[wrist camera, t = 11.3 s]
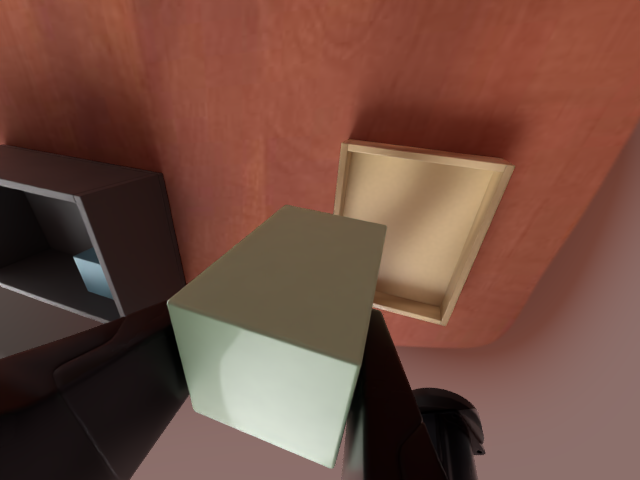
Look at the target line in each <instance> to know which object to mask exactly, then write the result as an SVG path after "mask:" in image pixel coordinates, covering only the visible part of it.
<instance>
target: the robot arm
mask: <svg viewBox="0 0 640 480" xmlns="http://www.w3.org/2000/svg"><path fill="white" fill-rule="evenodd" d="M168 300H169V299H167V300H165V301H162V302H160V303H157V304H154V305H152V306H149V307H147V308H144V309H142V310H139V311H136V312H134V313H131V314H129V315H127V316H126V317H125V316H123V317H121V318H118V319H116V320H113V321H110V322H108V323H105V324H103V325H100V326H97V327H94V328H92V329H89V330H86V331H83V332H80V333H78V334H75V335H72V336H69V337H66V338H63V339H60V340H57V341H54V342H51V343H48V344H45V345H42V346H39V347H36V348H32V349H30V350H26V351H23V352H20V353H17V354H14V355H11V356H8V357H5V358H2V359H0V480H130V479H131V477H132V476H133V474H134V473H135V471H136V470H137V469H138V467H139V466H140V464H141V463H142V461H143V460H144V459H145V457H146V456H147V454H148V453H149V451H150V450H151V448H152V447H153V446H154V444H155V443H156V441H157V440H158V438H159V437H160V436H161V434H162V433H163V431H164V430H165V429H166V427H167V426H168V424H169V423H170V421H171V420H172V419H173V417H174V416H175V414H176V413H177V411H178V410H179V409H180V407H181V406H182V404H183V403H184V402H185V400H186V399H187V397H188V395H189V390H188V386H187V382H186V378H185V374H184V370H183V366H182V362H181V358H180V354H179V350H178V346H177V342H176V338H175V334H174V330H173V326H172V322H171V318H170V314H169V310H168V306H167V301H168ZM484 454H485V450H484V447H483V445H482V444H481V442H480V441H479V439H478V438H477V436H476V435H475V433H474V432H473V431H472V429H471V428H470V426H469V425H468V423H467V422H466V420H465V419H464V417H463V416H462V414H461V413H460V411H459V410H457V409H444V410H434V411H425V412H420V410H419V408H418V405H417V403H416V400H415V397H414V395H413V392H412V390H411V387H410V385H409V382H408V379H407V377H406V374H405V372H404V370H403V367H402V364H401V361H400V359H399V356H398V354H397V351H396V349H395V346H394V343H393V341H392V338H391V336H390V333H389V331H388V328H387V325H386V323H385V320H384V318H383V315H382V313H381V311H379V310H376V309H372V311H371V316H370V322H369V327H368V333H367V338H366V343H365V349H364V354H363V359H362V365H361V368H360V372H359V376H358V380H357V384H356V387H355V391H354V395H353V399H352V403H351V406H350V410H349V414H348V418H347V427H346V437H345V447H344V458H343V469H342V479H341V480H478V477H477V472H476V466H475V460H474V455H484Z"/></svg>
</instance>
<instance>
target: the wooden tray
mask: <svg viewBox="0 0 640 480" xmlns="http://www.w3.org/2000/svg"><path fill="white" fill-rule="evenodd" d="M514 168H515V165H513V164H511V163H510V162H508V161H506V160H504V159H503V158H495V157H487V156H479V155H471V154H464V153H456V152H448V151H440V150H432V149H424V148H416V147H409V146H401V145H393V144H385V143H377V142H369V141H362V140H354V139H348V140H346V141H344V142H342V143H341V151H340V160H339V169H338V177H337V186H336V195H335V204H334V212H333V214H334V215H339V216H344V217H349V218H354V219H358V220H363V221H368V222H373V223H378V224H383V225H386V226H387V231H386V236H385V242H384V247H383V252H382V258H381V263H380V268H379V274H378V279H377V284H376V290H375V295H374V300H373V306H372V307H375V308H379V309H382V310H386V311H390V312H394V313H397V314H401V315H405V316H409V317H412V318H416V319H420V320H424V321H428V322H431V323H435V324H439V325H443V326H446V325H447V323H448V321H449V318H450V316H451V314H452V311H453V309H454V307H455V304H456V302H457V300H458V297H459V295H460V293H461V290H462V288H463V286H464V284H465V281H466V279H467V277H468V274H469V272H470V270H471V267H472V265H473V263H474V260H475V258H476V256H477V253H478V251H479V249H480V247H481V244H482V242H483V240H484V237H485V235H486V233H487V230H488V228H489V226H490V223H491V221H492V219H493V216H494V214H495V212H496V210H497V207H498V205H499V203H500V200H501V198H502V196H503V193H504V191H505V189H506V186H507V184H508V182H509V179H510V177H511V175H512V173H513V170H514Z"/></svg>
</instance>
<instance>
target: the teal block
mask: <svg viewBox="0 0 640 480" xmlns="http://www.w3.org/2000/svg"><path fill="white" fill-rule="evenodd" d="M73 258H74V260H75V263H76V265H77V267H78V270H79V272H80V274H81V276H82V279H83V281H84V283H85V285H86V288H87V290H88V291H89V292H92V293H95V294H98V295H101V296H104V297H107V298H110V299H113V296H112V294H111V291H110V288H109V286H108V283H107V281H106V278H105V275H104V273H103V270H102V268H101V265H100V263H99V260H98V257H97V255H96V252H95V250H94V247H93V248H90V249H88V250H86V251H84V252H82V253H79V254H77V255H75V256H73ZM113 300H114V299H113Z"/></svg>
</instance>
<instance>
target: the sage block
mask: <svg viewBox="0 0 640 480" xmlns="http://www.w3.org/2000/svg"><path fill="white" fill-rule="evenodd" d="M386 231H387V226H386V225H383V224H378V223H373V222H368V221H363V220H358V219H354V218H349V217H344V216H339V215H334V214H329V213H325V212H320V211H315V210H310V209H305V208H300V207H295V206H291V205H284V206H283V207H282V208H281V209H279V210H278V211H277V212H276V213H274V214H273V215H272V216H271V217H270V218H268V219H267V220H266V221H265V222H263V223H262V224H261V225H260V226H258V227H257V228H256V229H255V230H254V231H252V232H251V233H250V234H249V235H247V236H246V237H245V238H244V239H243V240H241V241H240V242H239V243H238V244H236V245H235V246H234V247H233V248H231V249H230V250H229V251H228V252H227V253H225V254H224V255H223V256H222V257H220V258H219V259H218V260H217V261H215V262H214V263H213V264H212V265H211V266H209V267H208V268H207V269H206V270H204V271H203V272H202V273H201V274H200V275H198V276H197V277H196V278H195V279H193V280H192V281H191V282H190V283H188V284H187V285H186V286H185V287H184V288H182V289H181V290H180V291H179V292H177V293H176V294H175V295H174V296H172V297H171V298H170V299H169V300H168V301H167V306H168V310H169V314H170V318H171V322H172V326H173V330H174V334H175V338H176V342H177V346H178V350H179V354H180V358H181V362H182V366H183V370H184V374H185V378H186V382H187V386H188V390H189V394H190V397H191V402H192V406H193V409H194V411H195V412H197V413H200V414H202V415H205V416H207V417H210V418H212V419H214V420H217V421H219V422H221V423H224V424H226V425H229V426H231V427H233V428H236V429H238V430H240V431H243V432H245V433H247V434H250V435H252V436H255V437H257V438H259V439H262V440H264V441H266V442H269V443H271V444H274V445H276V446H279V447H281V448H283V449H286V450H288V451H290V452H293V453H295V454H297V455H300V456H302V457H305V458H307V459H310V460H312V461H314V462H317V463H319V464H321V465H324V466H326V467H328V468H334V466H335V463H336V459H337V456H338V452H339V448H340V444H341V440H342V437H343V433H344V429H345V425H346V422H347V418H348V414H349V410H350V406H351V403H352V399H353V395H354V391H355V387H356V384H357V380H358V376H359V372H360V368H361V365H362V359H363V354H364V349H365V343H366V338H367V333H368V327H369V322H370V316H371V311H372V306H373V300H374V295H375V290H376V284H377V279H378V274H379V268H380V263H381V258H382V252H383V247H384V242H385V236H386Z"/></svg>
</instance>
